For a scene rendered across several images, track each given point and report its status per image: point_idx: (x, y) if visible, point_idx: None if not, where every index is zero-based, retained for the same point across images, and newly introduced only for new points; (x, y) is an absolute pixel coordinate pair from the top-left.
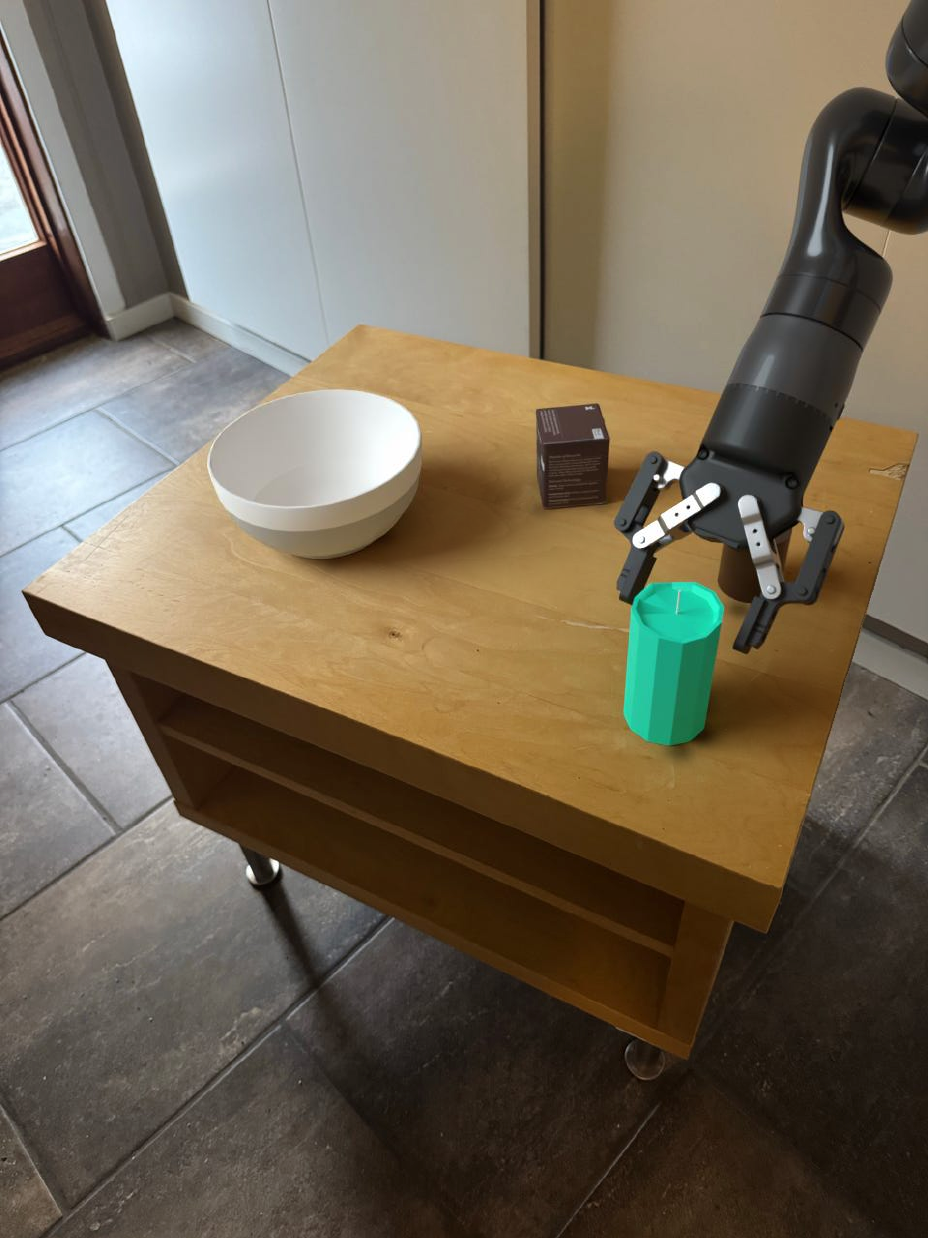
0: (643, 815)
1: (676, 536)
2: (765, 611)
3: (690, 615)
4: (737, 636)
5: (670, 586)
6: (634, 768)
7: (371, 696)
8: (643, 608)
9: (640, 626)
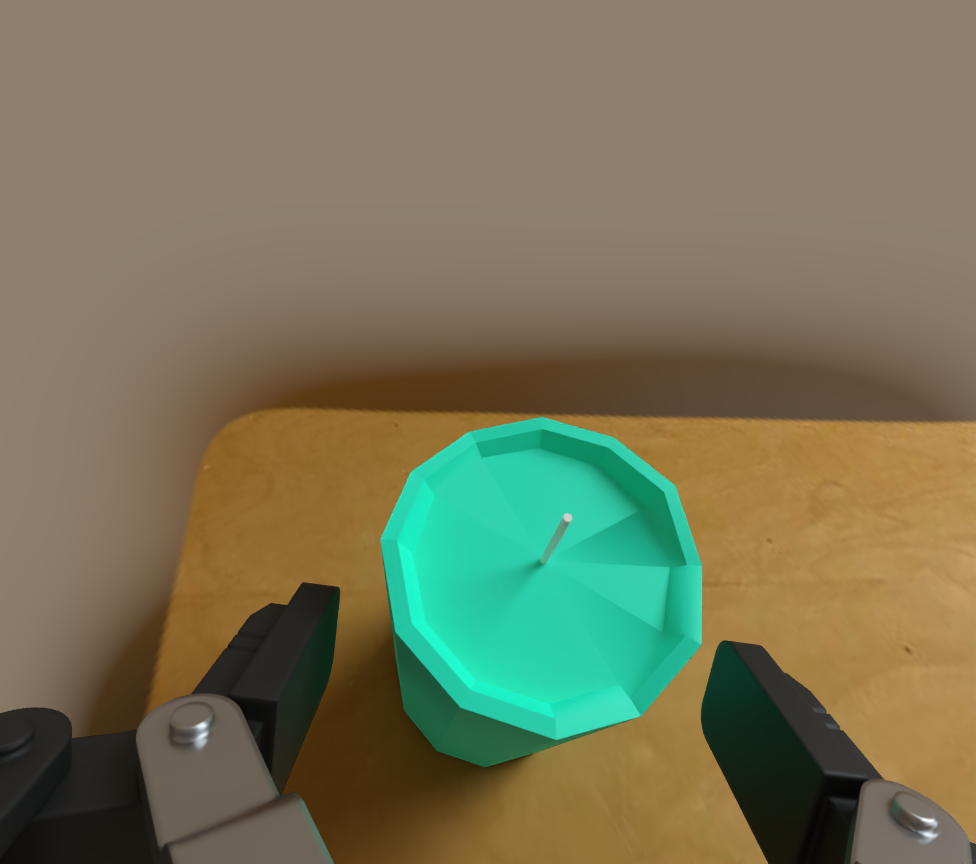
0: (433, 434)
1: None
2: (228, 684)
3: (499, 573)
4: (327, 597)
5: (631, 688)
6: None
7: (935, 463)
8: (649, 535)
9: (610, 437)
